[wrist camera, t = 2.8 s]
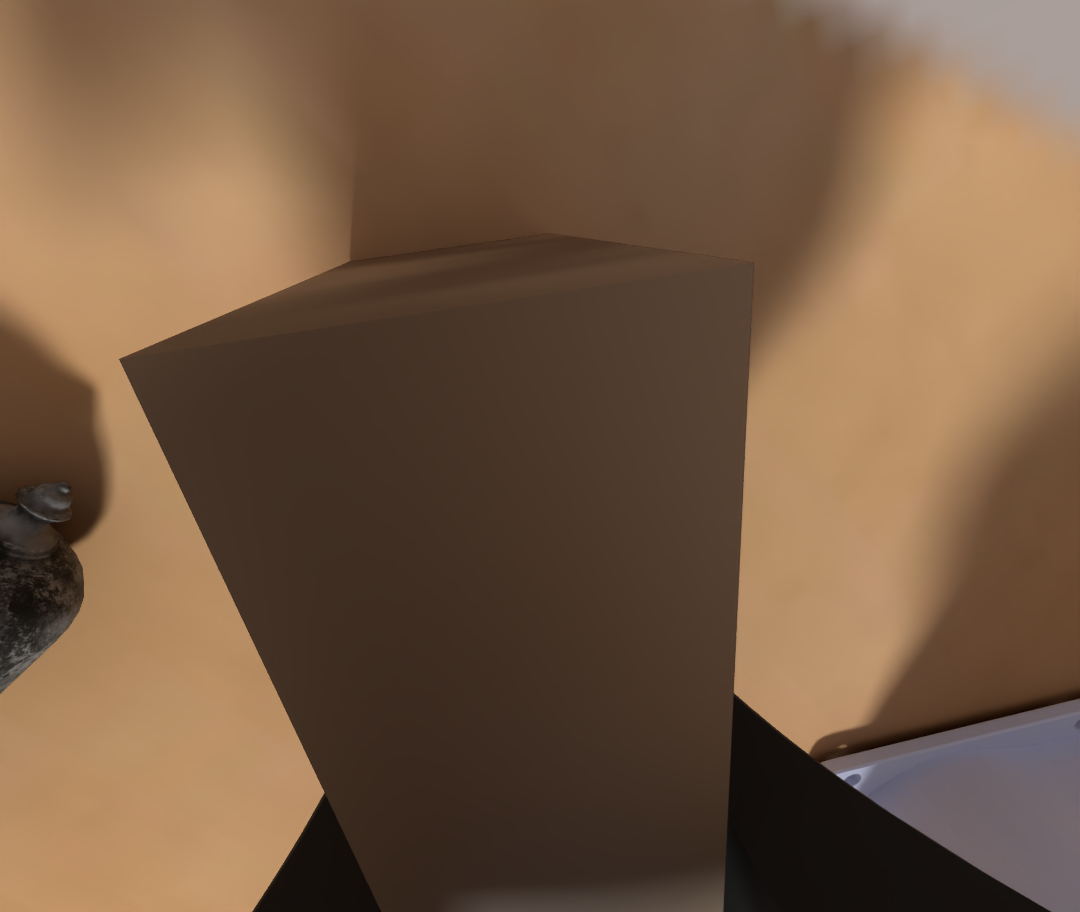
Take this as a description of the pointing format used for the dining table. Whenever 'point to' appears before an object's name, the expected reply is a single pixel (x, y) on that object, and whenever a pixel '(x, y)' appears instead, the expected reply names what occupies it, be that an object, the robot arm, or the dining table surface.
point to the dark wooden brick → (488, 556)
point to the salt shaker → (35, 577)
